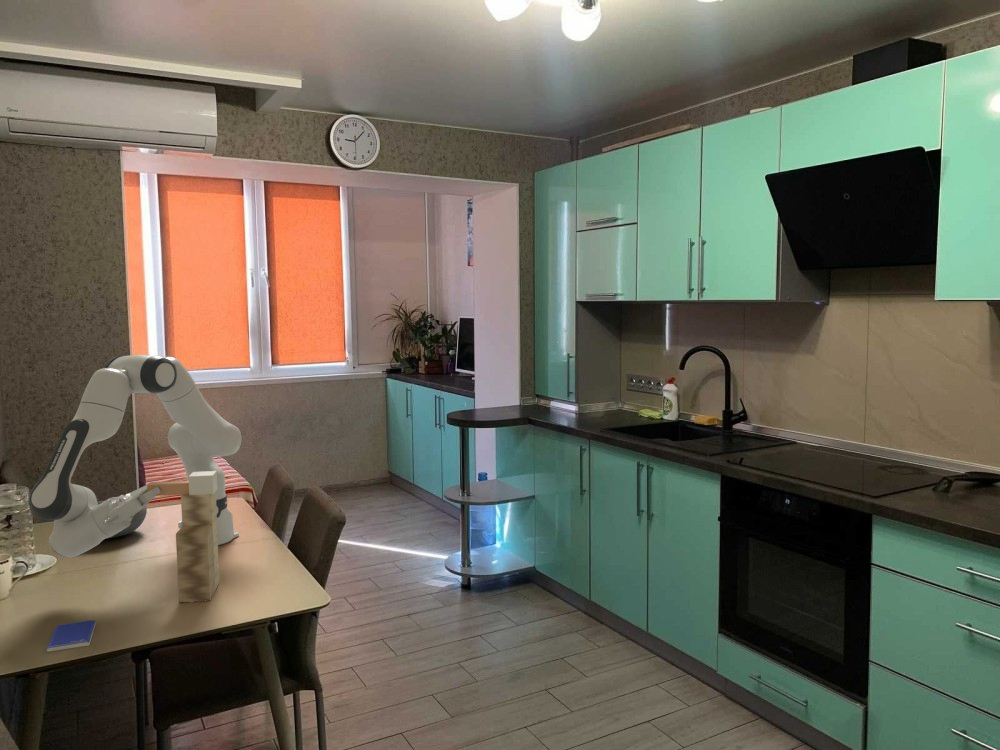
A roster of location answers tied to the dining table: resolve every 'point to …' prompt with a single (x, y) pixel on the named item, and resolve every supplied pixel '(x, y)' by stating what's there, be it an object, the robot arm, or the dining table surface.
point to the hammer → (189, 485)
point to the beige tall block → (197, 548)
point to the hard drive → (71, 635)
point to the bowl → (132, 522)
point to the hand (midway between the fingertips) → (162, 486)
